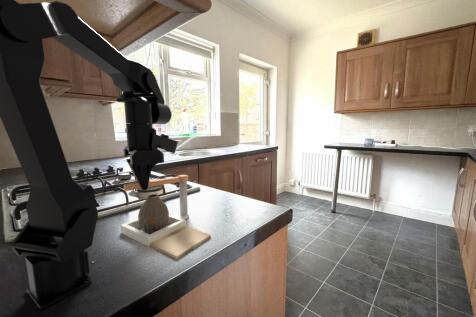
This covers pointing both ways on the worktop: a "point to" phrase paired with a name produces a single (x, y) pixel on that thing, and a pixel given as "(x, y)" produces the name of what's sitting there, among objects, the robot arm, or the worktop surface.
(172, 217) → the socket
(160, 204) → the vase
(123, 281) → the worktop surface
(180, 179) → the orange flat bar
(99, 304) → the worktop surface
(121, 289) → the worktop surface
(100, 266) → the worktop surface
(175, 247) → the mat
